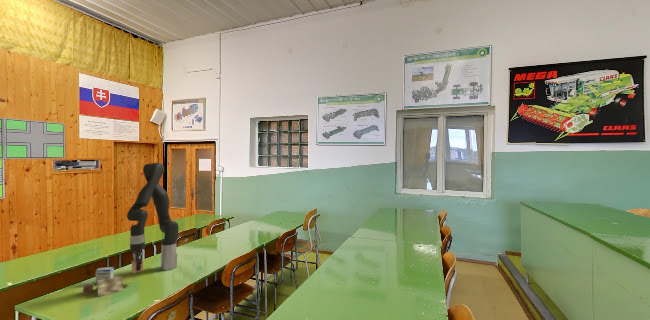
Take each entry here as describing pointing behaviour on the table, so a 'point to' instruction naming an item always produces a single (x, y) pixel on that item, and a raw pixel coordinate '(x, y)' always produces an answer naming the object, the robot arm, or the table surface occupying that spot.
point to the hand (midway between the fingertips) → (137, 269)
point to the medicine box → (104, 273)
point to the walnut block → (87, 289)
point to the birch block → (109, 285)
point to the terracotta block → (135, 266)
